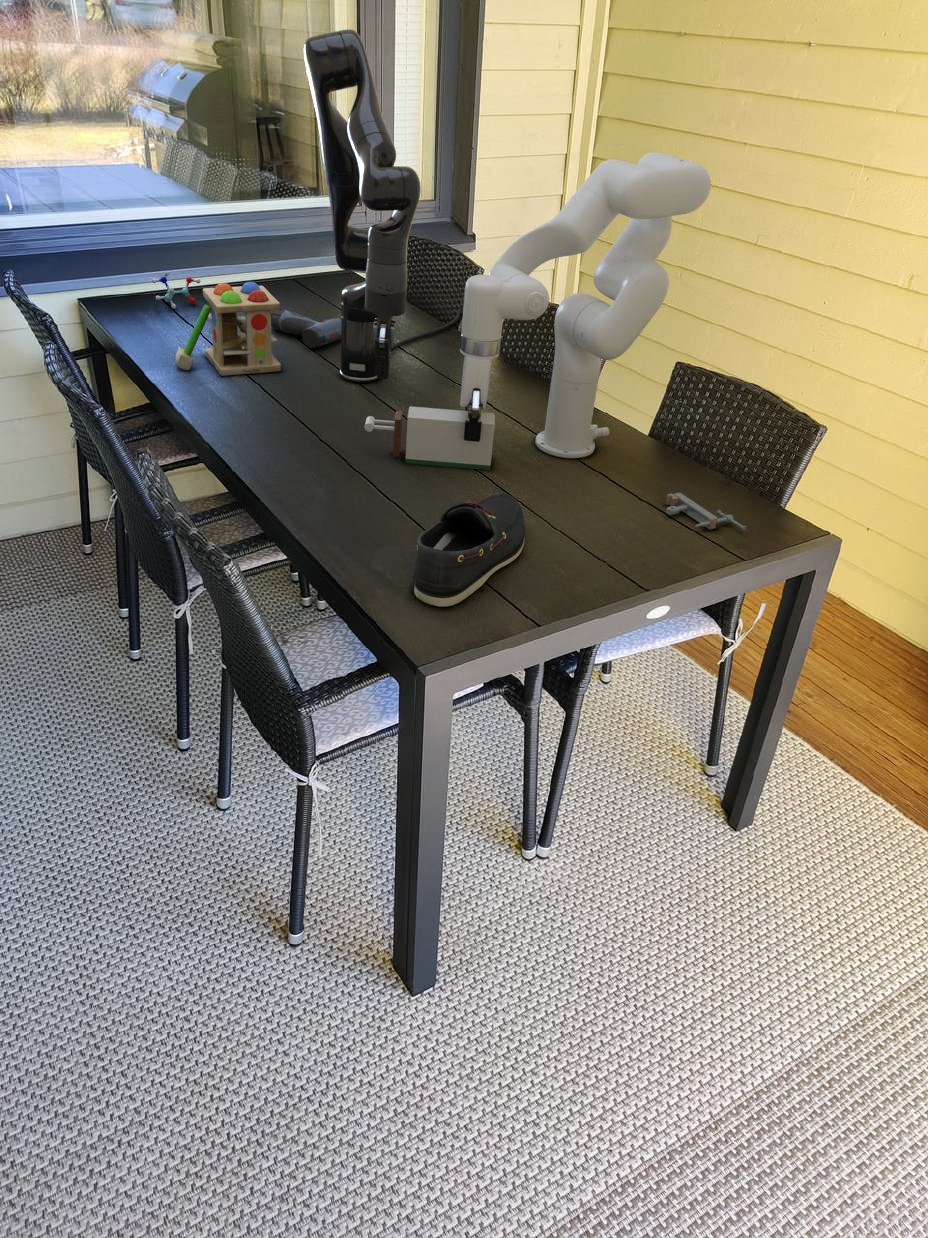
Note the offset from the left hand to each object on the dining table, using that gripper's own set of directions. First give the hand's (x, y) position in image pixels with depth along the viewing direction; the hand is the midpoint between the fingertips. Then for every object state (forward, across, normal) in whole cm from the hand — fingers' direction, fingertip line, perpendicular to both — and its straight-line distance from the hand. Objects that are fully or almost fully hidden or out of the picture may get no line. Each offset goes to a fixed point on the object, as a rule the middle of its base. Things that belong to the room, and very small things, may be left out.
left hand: (382, 376), depth 188 cm
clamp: (+16, +17, +62) cm, 66 cm away
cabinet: (+16, 0, +14) cm, 21 cm away
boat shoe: (+16, +39, +19) cm, 46 cm away
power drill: (+16, -69, -24) cm, 75 cm away
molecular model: (+16, -84, -63) cm, 106 cm away
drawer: (+15, 0, +8) cm, 17 cm away
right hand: (+10, 0, +18) cm, 20 cm away
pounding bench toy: (+16, -42, -40) cm, 60 cm away
